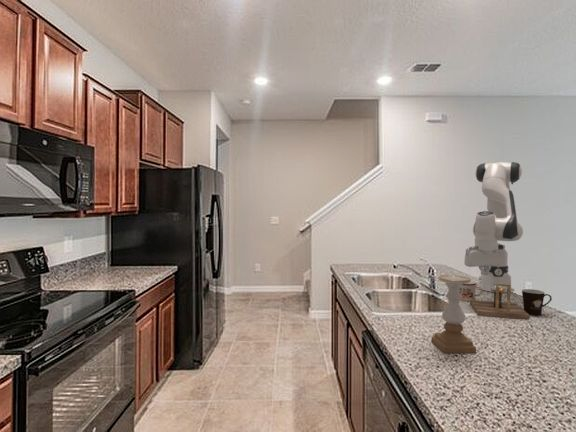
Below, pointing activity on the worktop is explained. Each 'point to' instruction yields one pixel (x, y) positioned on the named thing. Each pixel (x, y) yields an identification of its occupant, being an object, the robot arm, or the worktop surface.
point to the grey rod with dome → (501, 288)
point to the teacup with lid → (469, 291)
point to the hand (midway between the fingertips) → (484, 274)
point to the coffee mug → (533, 301)
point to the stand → (499, 306)
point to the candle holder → (453, 319)
